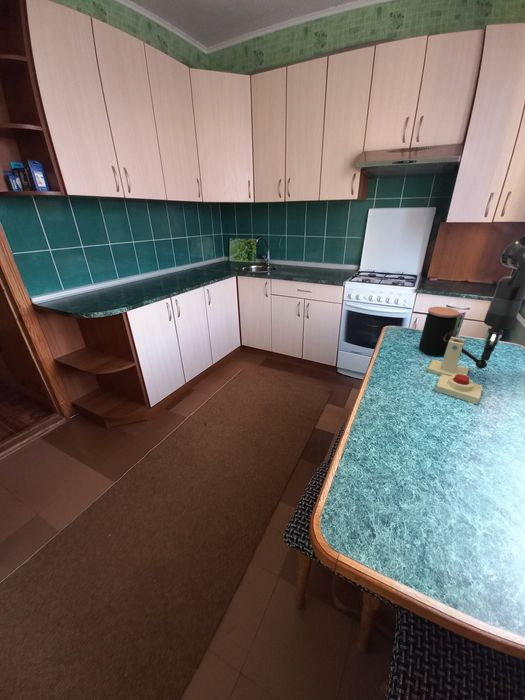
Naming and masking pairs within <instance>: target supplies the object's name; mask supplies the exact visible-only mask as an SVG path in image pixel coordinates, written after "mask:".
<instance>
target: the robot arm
mask: <svg viewBox="0 0 525 700" xmlns="http://www.w3.org/2000/svg"><path fill="white" fill-rule="evenodd" d="M500 263H501V265H502V266H504V267H506V268H510V269H514V270H515V272H514V274H513V275H512V276H511V275H510V276H504V277H501V278H500V279H499V281H498V283H497V285H496V289H495V292H494V294H493V296H492V298H491V301H490V302H489V305H488V308H487V311H486V314H485V317H484V320H483V324H485V325H486V326H488V328H487V331H486V334H485V336H486V337H485V340H484V345H483V351H482V354H481V356H480V359H482V360H485V361H486V362H488V361H490V358H491V357H492V356H491V355H492V353H493V352H494V351H495V348H496V347H497V346H498V344H499V342H500V340H501V339H502V336H503V333H504V330H509V329H513V328H514V325H515V322H516V320H517V317H518V315H519V312H520V310H521V307H522V304H523V303H522V302H523V299H524V297H525V234H523V235H522V236H521V237H518V238H516V240H514V241H512V242H511V243H509V244H508V245H507V246H506V247H505V249H503V252H502V253H501V255H500Z"/></svg>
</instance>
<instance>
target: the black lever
mask: <svg viewBox="0 0 525 700" xmlns="http://www.w3.org/2000/svg"><path fill="white" fill-rule="evenodd" d="M454 342H459V341H457V340H456V339H455V340H454ZM459 343H460V342H459ZM461 353H463V355H465V356H466V357H468V358H469V359H470V360H472V361H473V362H474V363H475V366H476V368H478V369H481V370H482V369H485V368H487V367H488V361H485V360H482V359H481V358H480V359H479V358H477V357H476V356H474V355H473V354H472V353H471V352H469V351H468V350H467V349H466V348H464V347H463V348H462V351H461Z"/></svg>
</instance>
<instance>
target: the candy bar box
mask: <svg viewBox="0 0 525 700" xmlns="http://www.w3.org/2000/svg"><path fill="white" fill-rule="evenodd" d="M436 307H440V306H438V305H437V306H436ZM455 310H456V311H458V312H459V315H458V316H457V322H456V325H455V329H454V332H453V335H452V337H455V338H459V335H460V331H461V329H462V326H463V322H464V320H465V317H466V311H463V310H459V309H458V310H457V309H455Z"/></svg>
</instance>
